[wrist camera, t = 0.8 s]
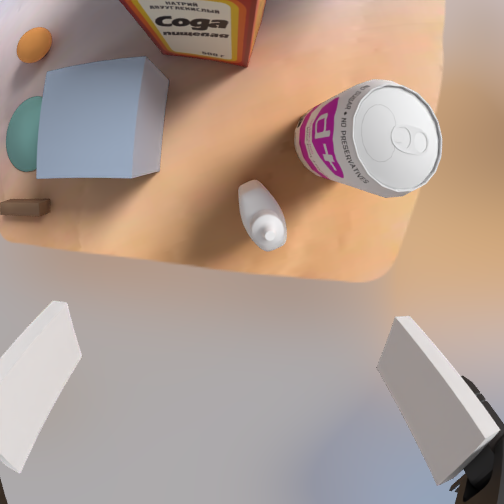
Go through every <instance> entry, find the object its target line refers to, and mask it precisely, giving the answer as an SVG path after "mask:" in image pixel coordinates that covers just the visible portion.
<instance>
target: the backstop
mask: <svg viewBox="0 0 504 504" xmlns="http://www.w3.org/2000/svg"><path fill="white" fill-rule="evenodd" d="M49 212H50V199H10V200H7V201H4V202H1V203H0V215H21V216H42V215H44V214H46V213H49Z"/></svg>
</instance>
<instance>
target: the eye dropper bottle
mask: <svg viewBox="0 0 504 504" xmlns="http://www.w3.org/2000/svg"><path fill="white" fill-rule="evenodd" d="M238 196H239V208H240V214H241V219H242V222H243V225H244V227H245V229H246V231H247V233H248V235H249V236H250V238H251V239H252V240H253V241H254V242H255V244H257V245H258V246H259V247H260V248H261V249H262V250H264V251H272V250H274V249H277V248H279V247H281V246H283V245H284V244H285V242H286V238H287V228H286V222H285V218H284V215H283V212H282V210H281V208H280V206H279V205H278V203H277V201H276V200H275V199H274V197H273V196H272V195H271V194H270V192H269V191H268V190H267V189H266V188H265V187H264V185H263V184H262V183H261V182H259V181H258V180H256V179H255V180H251V181H248V182H246V183H244V184H242V185H241V186H239V189H238Z"/></svg>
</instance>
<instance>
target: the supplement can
mask: <svg viewBox="0 0 504 504" xmlns="http://www.w3.org/2000/svg"><path fill="white" fill-rule="evenodd" d="M294 145H295V149H296V152H297V155H298V158H299V159H300V160H301V162H302V163H303V165H304V166H305V167H306V168H307V169H308V170H310V171H311V172H312V173H314V174H315V175H317V176H320V177H323V178H326V179H330V180H333V181H336V182H339V183H342V184H346V185H349V186H352V187H355V188H358V189H361V190H364V191H366V192H370V193H373V194H376V195H379V196H382V197H385V198H388V197H399V196H404V195H406V194H408V193H409V192H411V191H414V190H415V189H417V188H419V187H421V186H423V185H424V184H426V183H427V182H428V181H429V179H430V178H431V177H432V176H433V175H434V173H435V172H436V170H437V167H438V164H439V162H440V159H441V154H442V136H441V131H440V126H439V122H438V120H437V118H436V116H435V114H434V112H433V110H432V108H431V107H430V105H429V104H428V103H427V102H426V101H425V100H424V99H423V98H422V97H421V96H420V95H419V94H418V93H417V92H415V91H413V90H411V89H409V88H407V87H405V86H403V85H399V84H397V83H395V82H393V81H388V80H377V79H372V80H369V81H366V82H364V83H361V84H358V85H355V86H353V87H351V88H349V89H347V90H346V91H344V92H342V93H340V94H338V95H336V96H334V97H332V98H330V99H328V100H327V101H325V102H323V103H321V104H319V105H317V106H316V107H314V108H312V109H310V110H309V111H308V112H307V113H306V114H305V115H304V116H303V117H302V118H301V119H300V120H299V122H298V125H297V127H296V129H295V137H294Z"/></svg>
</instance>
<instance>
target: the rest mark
mask: <svg viewBox="0 0 504 504" xmlns="http://www.w3.org/2000/svg"><path fill="white" fill-rule="evenodd" d="M41 104H42V97H40V96H36V97H31V98H29V99H27V100H26V101H24V102H23V103H22V104H21V105H20V106H19V107H18V108H17V109H16V111H15V112H14V114H13V116H12V118H11V120H10V123H9V126H8V129H7V135H6V148H7V153H8V156H9V159H10V161H11V163H12V164H13V165H14V166H15V167H16V168H17V169H19V170H21V171H24V172H28V171H33V170H35V169H37V145H38V131H39V121H40V112H41Z"/></svg>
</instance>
